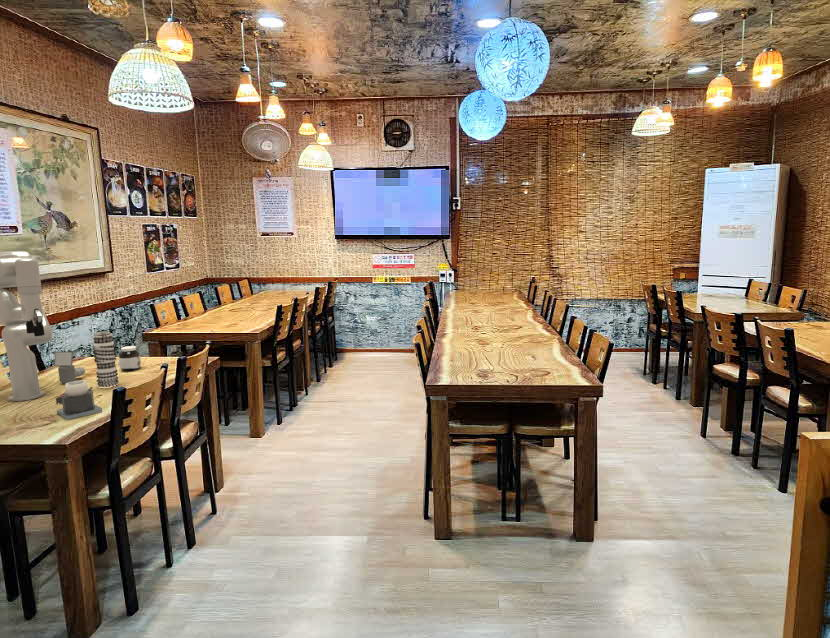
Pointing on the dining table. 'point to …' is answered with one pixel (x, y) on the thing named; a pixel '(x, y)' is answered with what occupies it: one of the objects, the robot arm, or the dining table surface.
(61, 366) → the camera
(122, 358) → the spread jar
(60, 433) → the dining table surface
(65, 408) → the gray square-based holder
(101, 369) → the decorative candle
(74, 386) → the cup
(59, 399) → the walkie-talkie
